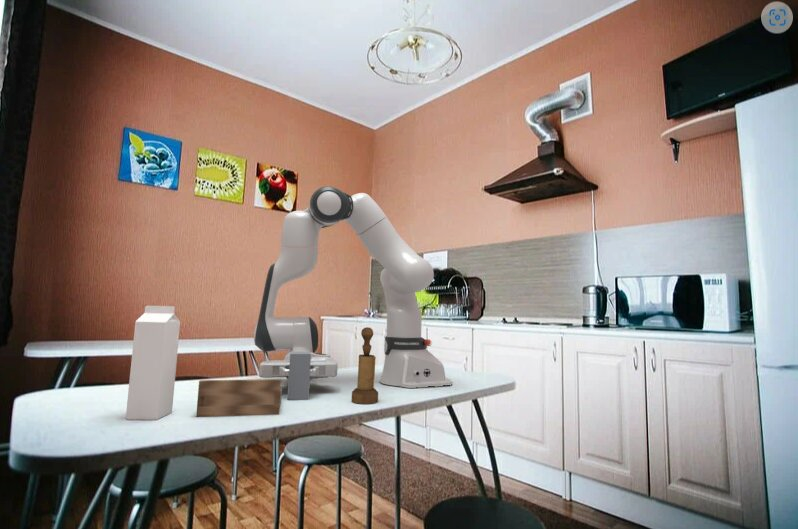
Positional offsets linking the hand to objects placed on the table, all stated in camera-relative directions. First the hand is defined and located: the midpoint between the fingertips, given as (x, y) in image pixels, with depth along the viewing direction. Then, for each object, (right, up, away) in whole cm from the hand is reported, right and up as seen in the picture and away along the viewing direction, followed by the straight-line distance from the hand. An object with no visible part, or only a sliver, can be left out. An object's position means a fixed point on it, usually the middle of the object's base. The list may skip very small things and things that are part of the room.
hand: (299, 373), depth 102 cm
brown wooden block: (-10, -5, -11) cm, 15 cm away
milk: (-25, -3, -20) cm, 33 cm away
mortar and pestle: (+17, -7, -2) cm, 18 cm away
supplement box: (+16, -8, +8) cm, 20 cm away
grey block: (0, -6, 0) cm, 6 cm away
